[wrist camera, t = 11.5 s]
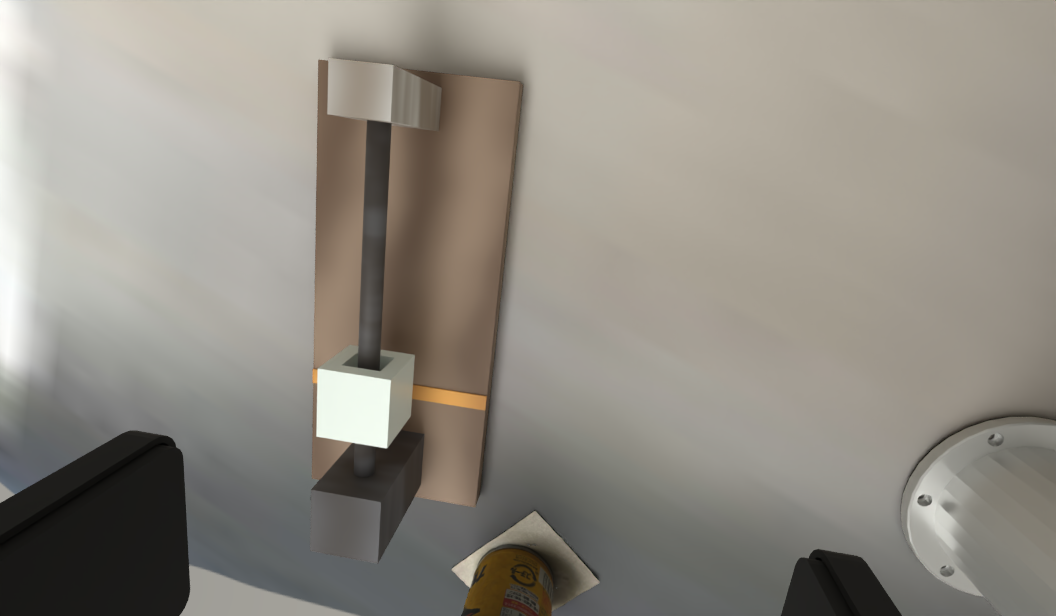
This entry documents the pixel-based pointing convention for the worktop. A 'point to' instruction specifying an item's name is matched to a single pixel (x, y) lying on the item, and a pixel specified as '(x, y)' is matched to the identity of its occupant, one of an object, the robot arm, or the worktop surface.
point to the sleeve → (364, 398)
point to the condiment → (523, 573)
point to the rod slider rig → (408, 281)
